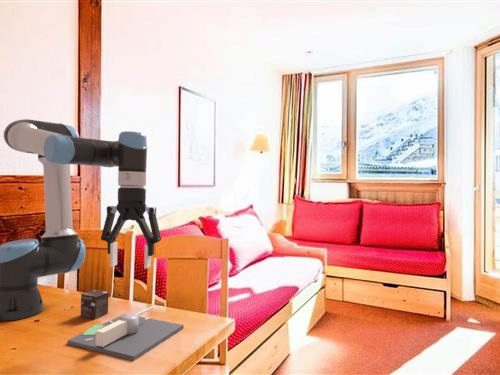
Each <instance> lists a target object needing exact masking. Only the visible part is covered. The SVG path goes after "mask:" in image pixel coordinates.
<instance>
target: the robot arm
mask: <svg viewBox="0 0 500 375" xmlns="http://www.w3.org/2000/svg"><path fill="white" fill-rule="evenodd" d="M3 139H4V142H5V144H7V146H8V147H9V148H11V149H12V150H14V151H18V152H20V153H26V154H33V155H34V154H35V155H37V161H38V162H40V163H41V165H43V169H42V170H43V190H44V214H45V215H44V216H45V232H44V233H43V235H41V236H40V239H41V240H40V241H41V242H39V240H38V239H37V238H26V239H18V240H12V241H8V242H5V243H3V244H0V322H3V321H4V322H5V321H8V322H9V321H16V320H22V319H26V318H30V317H33V316H36V315H39V314H40V313H42V312H43V311H44V301H43V299H42V298H43V297H42V296H41V295H42V294H41V293H40V290H39V287H38V280H39V278H43V277H47V276H48V277H49V276H53V275H59V274H68V273H70V272H74V271H77V270H79V269H80V268H81V266H82V265H83V264H84V261H85V258H86V245H85V241H84V240H83V239H81V238H79V235H78V232H77V231H76V230H74V226H73V206H72V183H71V182H72V181H71V177H72V176H71V165H81V166H83V165H85V166H95V167H103V168H113V167H118V170H117V171H118V175H117V185H118V186H120V187H118V189H117V205H115V206H114V205H108V206H107V207H106V216H105V220H104V225H103V229H102V232H101V237H100V241H105V242H106V243H107V254H108V255H109V267H111V268H113V267H115V266H117V265H118V248H119V247H118V244H119V243H118V241H116V239H118V238H117V237H118V235H119V234H120V232H121V230H122V228H123V226H125V225H124V224H125V223H126V222H127V221H130V220H131V221H134V222H136V223H137V224H138V227H139V228H140V230H141V232H142V234H143V237H144V239H145V240H146V244H144V266H143V267H144V269H149V268H150V267H151V266H152V256H154V255H155V244H156V243H159V242H161V241H162V237H161V232H160V229H159V228H160V227H159V223H158V219H157V207H155V206H153V207H152V206H147V204H146V200H147V196H146V194H147V189H146V186H147V155H148V154H147V153H148V146H147V143H148V142H147V135H146V133H145V134H144V133H143V132H139V131H128V130H127V131H121V132H120V133H119V134H118V139H117V140H115V141H114V140H103V139H95V138H85V137H80V135H79V133H78V131H77V129H75V127H74V126H72V125H68V124H64V123H61V122H60V123H55V122H50V121H49V122H48V121H41V120H37V119H27V118H25V119H17V120H14V121H12V122H10V123H9V124H8V125H7V126H6V127H5V129H4V130H3ZM117 212H118V214H119V215H118V217H117V220H116V222H115V224H114V220H115V217H116V213H117ZM145 213H146V215H147V216H148V221H149V225H150V227H149V225H148V224H147V221H146V217H145V216H144V214H145ZM113 224H114V226H113Z"/></svg>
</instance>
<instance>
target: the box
mask: <svg viewBox="0 0 500 375" xmlns="http://www.w3.org/2000/svg"><path fill="white" fill-rule="evenodd" d="M80 297H81V298H80V317H82V318H85V319H90V320H96V319H99V318H101V317H103V316H106V315H108V313H109V291H104V290H99V289H93V290H90V291H87V292H84V293H81V294H80Z"/></svg>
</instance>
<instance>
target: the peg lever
mask: <svg viewBox="0 0 500 375" xmlns="http://www.w3.org/2000/svg"><path fill="white" fill-rule="evenodd" d="M153 309H154V306H153V305H152V306H150V307H148V308H145V309H143V310H141V311H138V312H137V313H125V314H126V315H124V314H121V315H122V316H121V315H120V316H121V317H120V320H118V321H116V322H114V323H112V324H110V325H108V326H106V327H104V328H101V329H99V330H97V331H96V345H98V346H102V347H104V346H106V345H107V344H109V343H111V342H113V341H115V340H117V339H119V338H120V337H122V336H124V335H129V334H134V333H136V332H138V319H139V317H140V316H141V315H143V314H146V313H148V312H149V311H151V310H153Z"/></svg>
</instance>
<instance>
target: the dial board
mask: <svg viewBox="0 0 500 375" xmlns="http://www.w3.org/2000/svg"><path fill="white" fill-rule="evenodd" d="M126 314H127V313H124V314H121V315H119V316H116V317H114V319H111V320H108V321H107V322H104V323H101V324H95V325H92V326H90V327H89V328H88V329H86V330H85V331H84V332H82V333H80V334H78V335H76V336H74V337H71V338H69V339H67V345H71V346H75V347H77V348H78V347H79V348H82V349H87V350H91V351H94V352H99V353H102V354H103V353H104V354H106V355H111V356H114V357H119V358H123V359H127V360H130V361H131V360H132V361H136V360H137V359H138V358H140V357H141V356H143V355H145V354H146V353H148V352H150V351H151V350H152V349H154V348H156V347H157V346H158V345H160V344H162V343H163V342H165V341H166V340H169V338H171V337H172V336H174V335H176V334H177V333H179V332H180V331H182V330H183V329H184V328H185V327H184V324H180V323H176V322H169V321H165V320H158V319H153V318H150V317H149V316H148V317H144V316H139V319H138V332H136V333H134V334H129V335H124V336H122V337H120V338H119V339H117V340H115V341H113V342H111V343H109V344H107V345H106V346H104V347H102V346H98V345H96V331H97V330H99V329H101V328H104V327H106V326H108V325H110V324H112V323H114V322H116V321H118V320H120V317H121V316H122V315H126Z"/></svg>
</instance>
